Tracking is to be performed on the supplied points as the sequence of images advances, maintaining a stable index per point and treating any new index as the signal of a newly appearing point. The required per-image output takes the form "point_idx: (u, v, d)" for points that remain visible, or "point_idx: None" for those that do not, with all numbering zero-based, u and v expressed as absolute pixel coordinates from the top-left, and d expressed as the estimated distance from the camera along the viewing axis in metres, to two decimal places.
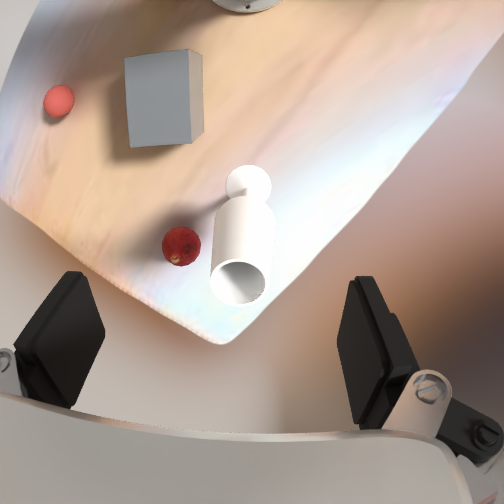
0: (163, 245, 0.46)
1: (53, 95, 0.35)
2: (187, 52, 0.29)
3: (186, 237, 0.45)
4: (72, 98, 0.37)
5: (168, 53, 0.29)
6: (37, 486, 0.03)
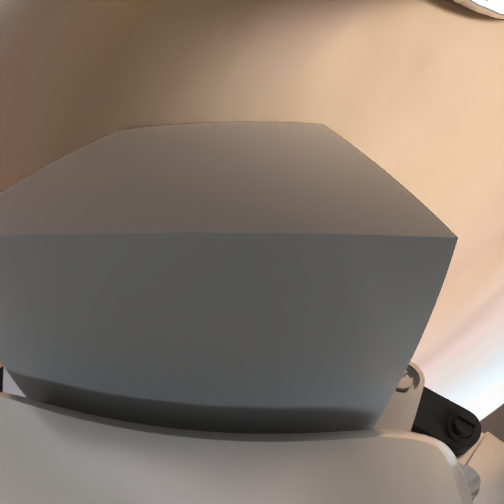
0: None
1: None
2: (440, 266, 0.03)
3: None
4: None
5: (262, 256, 0.03)
6: (37, 486, 0.03)
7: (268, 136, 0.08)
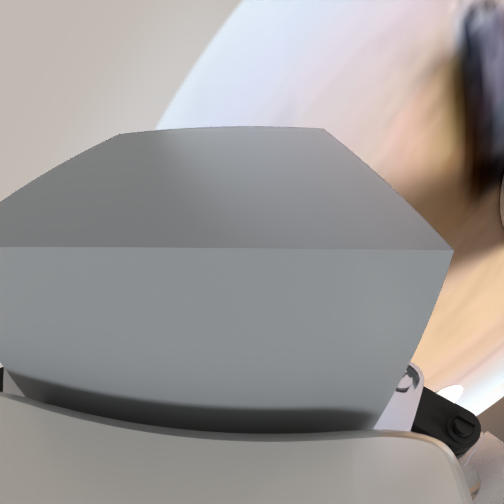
0: None
1: None
2: (437, 278, 0.03)
3: None
4: None
5: (261, 270, 0.03)
6: (37, 486, 0.03)
7: (268, 142, 0.08)
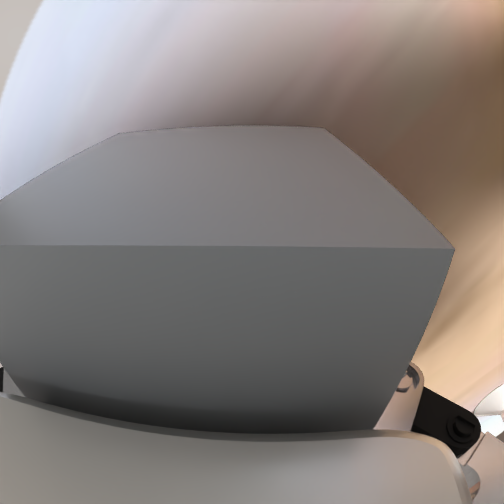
0: None
1: None
2: (438, 276, 0.03)
3: None
4: None
5: (261, 268, 0.03)
6: (37, 486, 0.03)
7: (268, 141, 0.08)
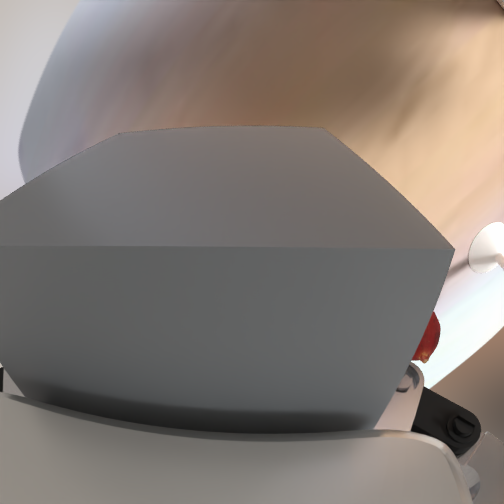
0: None
1: None
2: (438, 277, 0.03)
3: (435, 323, 0.27)
4: None
5: (261, 269, 0.03)
6: (37, 486, 0.03)
7: (268, 142, 0.08)
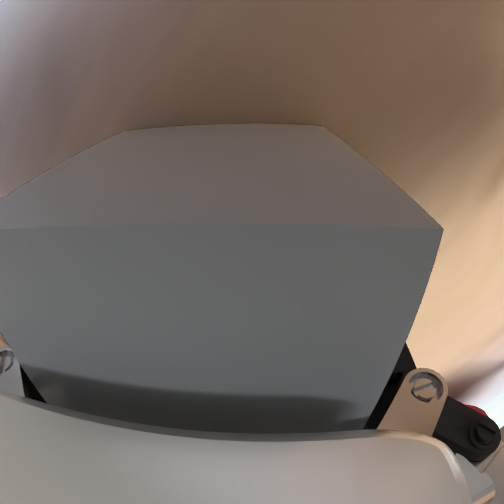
0: None
1: None
2: (428, 255, 0.04)
3: None
4: None
5: (266, 245, 0.04)
6: (37, 486, 0.03)
7: (269, 137, 0.09)
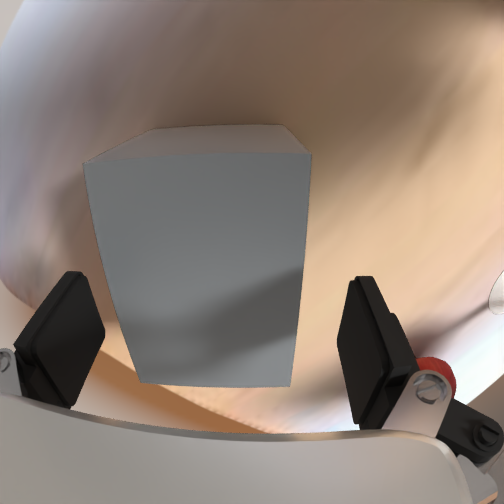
0: None
1: None
2: (306, 165, 0.10)
3: (451, 380, 0.22)
4: None
5: (238, 161, 0.10)
6: (37, 486, 0.03)
7: (246, 131, 0.15)
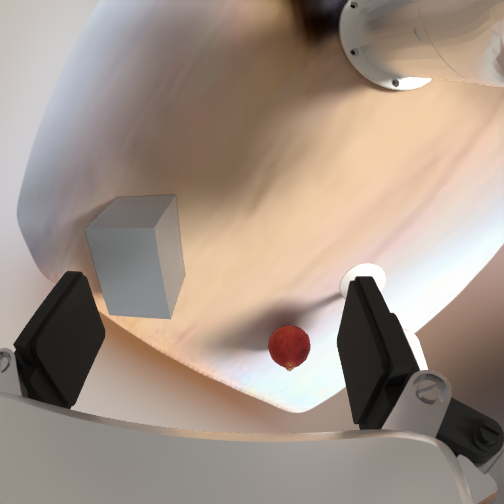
0: (273, 349, 0.41)
1: None
2: (153, 231, 0.29)
3: (300, 341, 0.41)
4: None
5: (132, 230, 0.29)
6: (37, 486, 0.03)
7: (151, 205, 0.34)
